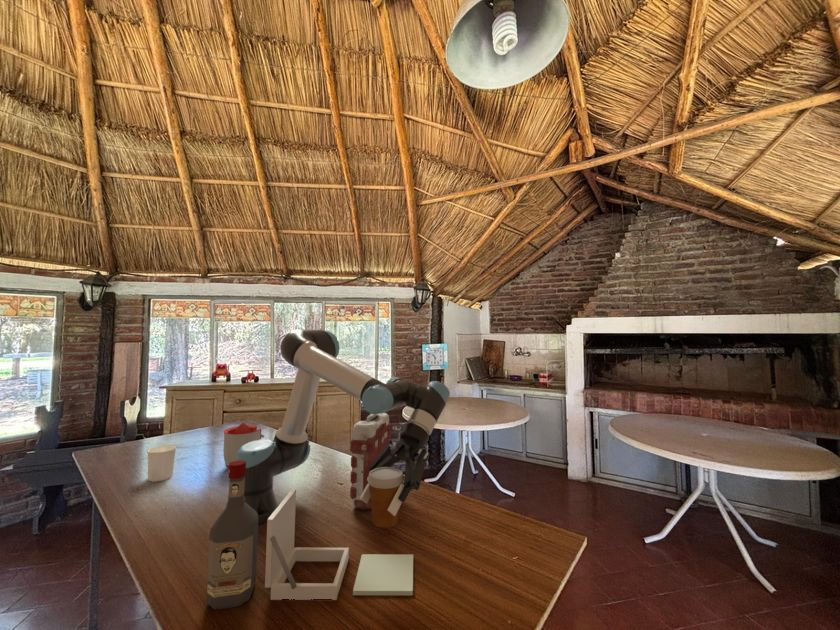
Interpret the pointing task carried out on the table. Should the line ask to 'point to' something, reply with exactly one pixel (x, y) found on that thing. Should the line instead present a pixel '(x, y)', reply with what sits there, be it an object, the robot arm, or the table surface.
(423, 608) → the table surface
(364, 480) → the first aid kit
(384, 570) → the board
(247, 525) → the liquor
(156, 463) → the candle holder
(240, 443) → the citrus juicer
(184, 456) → the table surface
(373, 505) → the disposable coffee cup
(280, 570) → the access hatch
